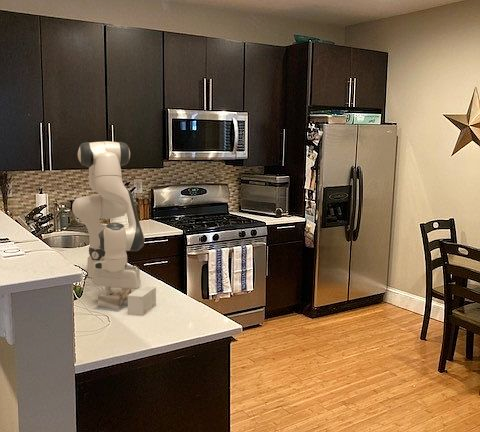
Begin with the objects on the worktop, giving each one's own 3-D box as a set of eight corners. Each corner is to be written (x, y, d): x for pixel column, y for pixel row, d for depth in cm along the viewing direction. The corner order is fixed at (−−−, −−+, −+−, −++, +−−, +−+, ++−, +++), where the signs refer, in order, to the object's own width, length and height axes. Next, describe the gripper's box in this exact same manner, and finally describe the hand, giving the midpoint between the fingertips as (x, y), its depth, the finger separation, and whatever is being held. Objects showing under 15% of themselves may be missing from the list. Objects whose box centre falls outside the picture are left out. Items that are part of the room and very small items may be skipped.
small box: (141, 285, 210) (127, 295, 197) (156, 287, 208) (142, 296, 196) (141, 305, 211) (127, 315, 198) (156, 306, 210) (143, 317, 197)
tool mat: (119, 295, 223) (119, 294, 223) (142, 298, 220) (142, 296, 220) (93, 310, 204) (93, 308, 204) (118, 313, 201) (118, 311, 201)
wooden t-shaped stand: (118, 295, 220) (118, 285, 220) (137, 298, 218) (137, 287, 217) (98, 307, 206) (98, 296, 205) (118, 309, 203) (118, 298, 202)
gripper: (143, 264, 208) (143, 297, 210) (98, 260, 214) (99, 292, 216) (135, 268, 202) (136, 302, 204) (89, 263, 208) (90, 297, 210)
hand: (116, 297), depth 210 cm, fingers open, 4 cm apart
